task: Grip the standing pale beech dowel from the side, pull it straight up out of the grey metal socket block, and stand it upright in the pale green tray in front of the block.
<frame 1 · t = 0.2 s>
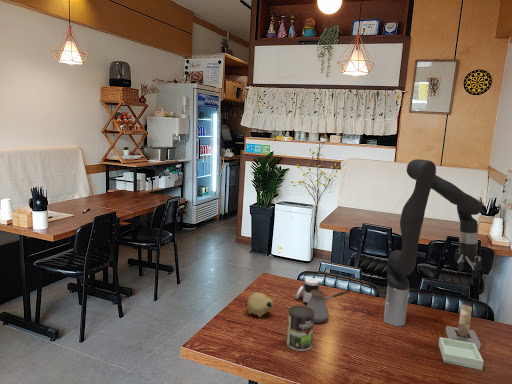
hand: (467, 273, 179), 22 cm above the table, tool pointing down, fingers open, 8 cm apart
coffee can: (299, 344, 153), on the table
socket block: (462, 339, 162), on the table
dowel: (464, 323, 161), in the socket block
coffee pot: (326, 320, 174), on the table
toy pig: (259, 315, 176), on the table
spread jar: (306, 301, 193), on the table
tray: (459, 356, 149), on the table
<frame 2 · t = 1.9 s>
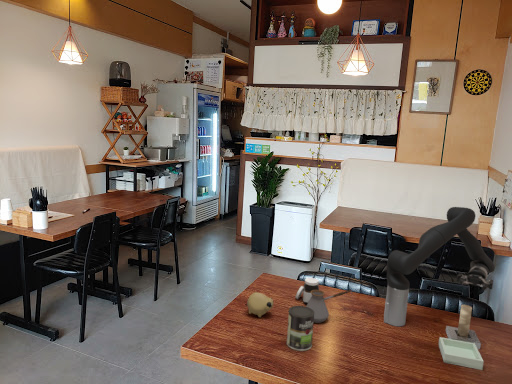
hand: (472, 285, 168), 21 cm above the table, tool horizontal, fingers open, 8 cm apart
nothing on the table moved.
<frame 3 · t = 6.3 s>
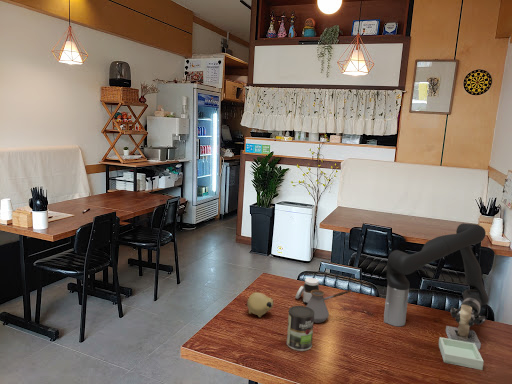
hand: (463, 322, 158), 9 cm above the table, tool horizontal, fingers closed on dowel, 4 cm apart
dowel: (464, 323, 161), in the socket block, touching gripper
everything else where it was.
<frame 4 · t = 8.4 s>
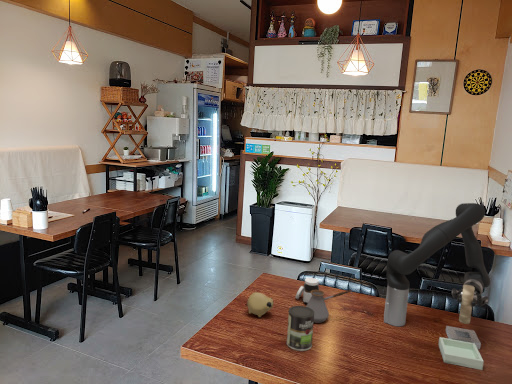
hand: (466, 303, 151), 20 cm above the table, tool horizontal, fingers closed on dowel, 4 cm apart
dowel: (466, 304, 154), point 18 cm above the table, touching gripper
everything else where it was.
when the fingers open (11 cm above the table, at t = 10.9 s): dowel drops 1 cm, resting on tray.
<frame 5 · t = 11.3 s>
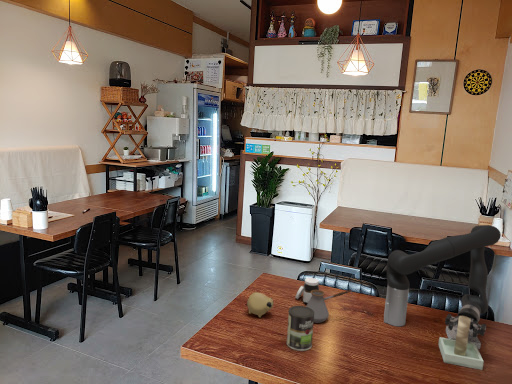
hand: (462, 331, 145), 12 cm above the table, tool horizontal, fingers open, 7 cm apart
dowel: (462, 336, 148), in the tray, point 8 cm above the table
everything else where it was.
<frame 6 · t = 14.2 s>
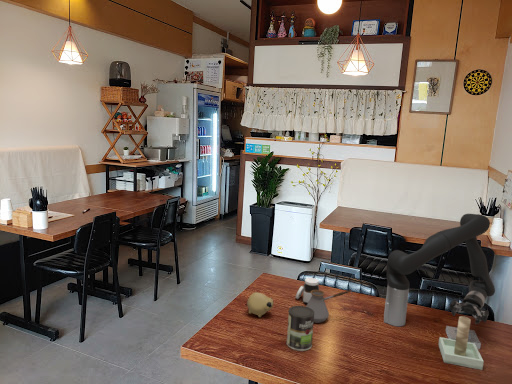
hand: (464, 317, 157), 11 cm above the table, tool horizontal, fingers open, 8 cm apart
nothing on the table moved.
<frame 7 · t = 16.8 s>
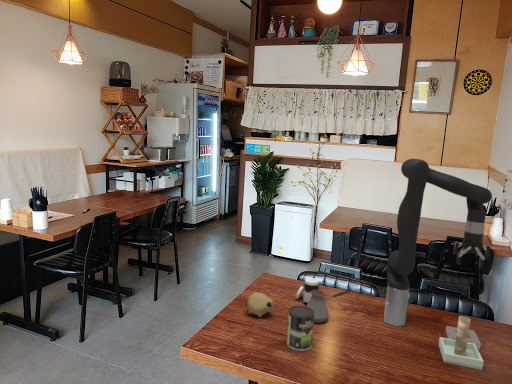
hand: (469, 265, 172), 28 cm above the table, tool pointing down, fingers open, 8 cm apart
nothing on the table moved.
at the end: dowel inside the target area on the tray (0.1 cm from its centre), point 8.5 cm above the tray's base; dowel tilted 1°; the gripper is holding nothing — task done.
